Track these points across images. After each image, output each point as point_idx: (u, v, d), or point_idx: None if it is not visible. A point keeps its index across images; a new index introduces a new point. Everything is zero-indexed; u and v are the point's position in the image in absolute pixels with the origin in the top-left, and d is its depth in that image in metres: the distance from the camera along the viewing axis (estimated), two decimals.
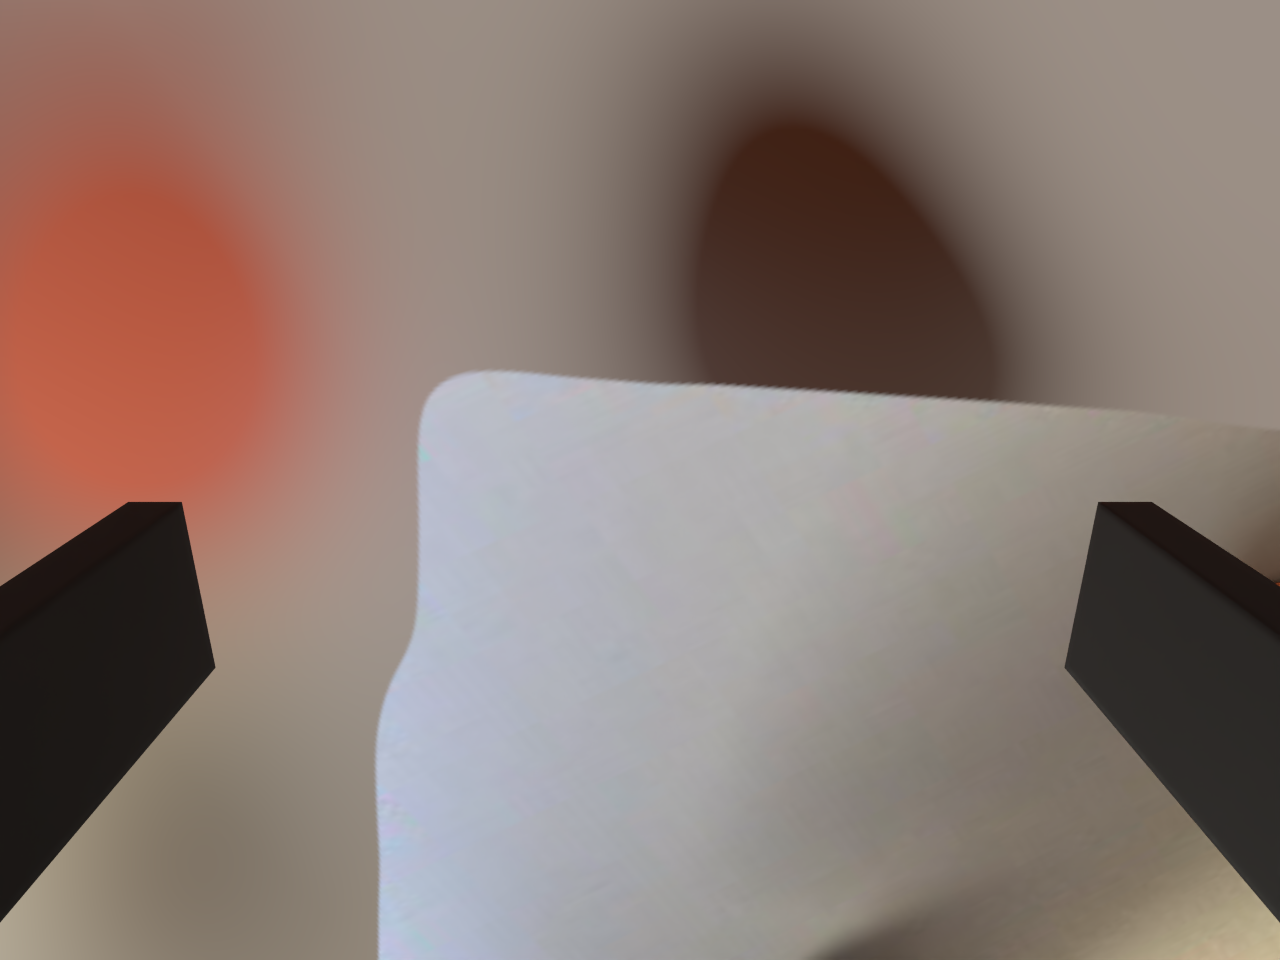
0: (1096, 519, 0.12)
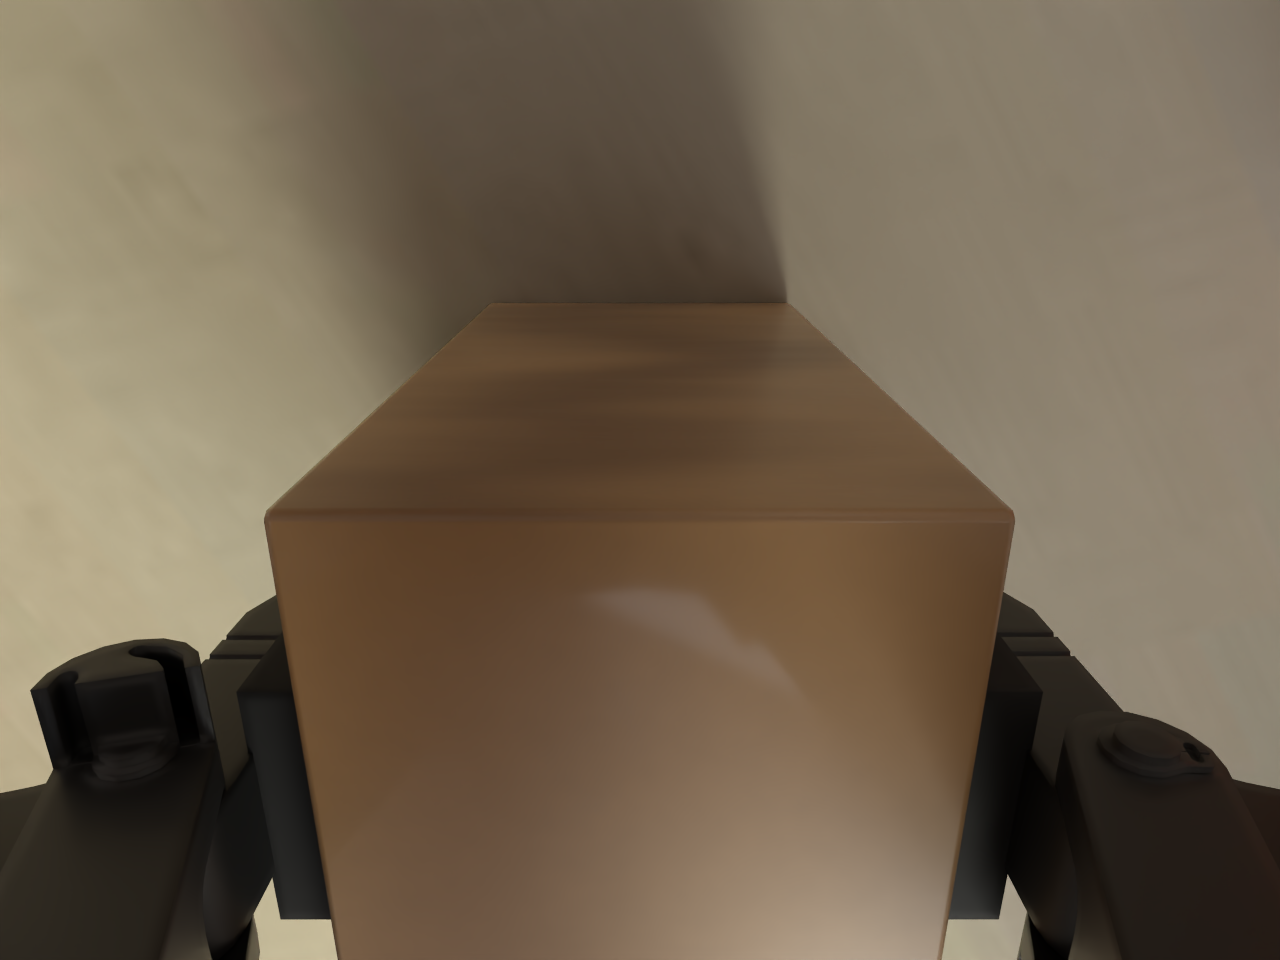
0: None
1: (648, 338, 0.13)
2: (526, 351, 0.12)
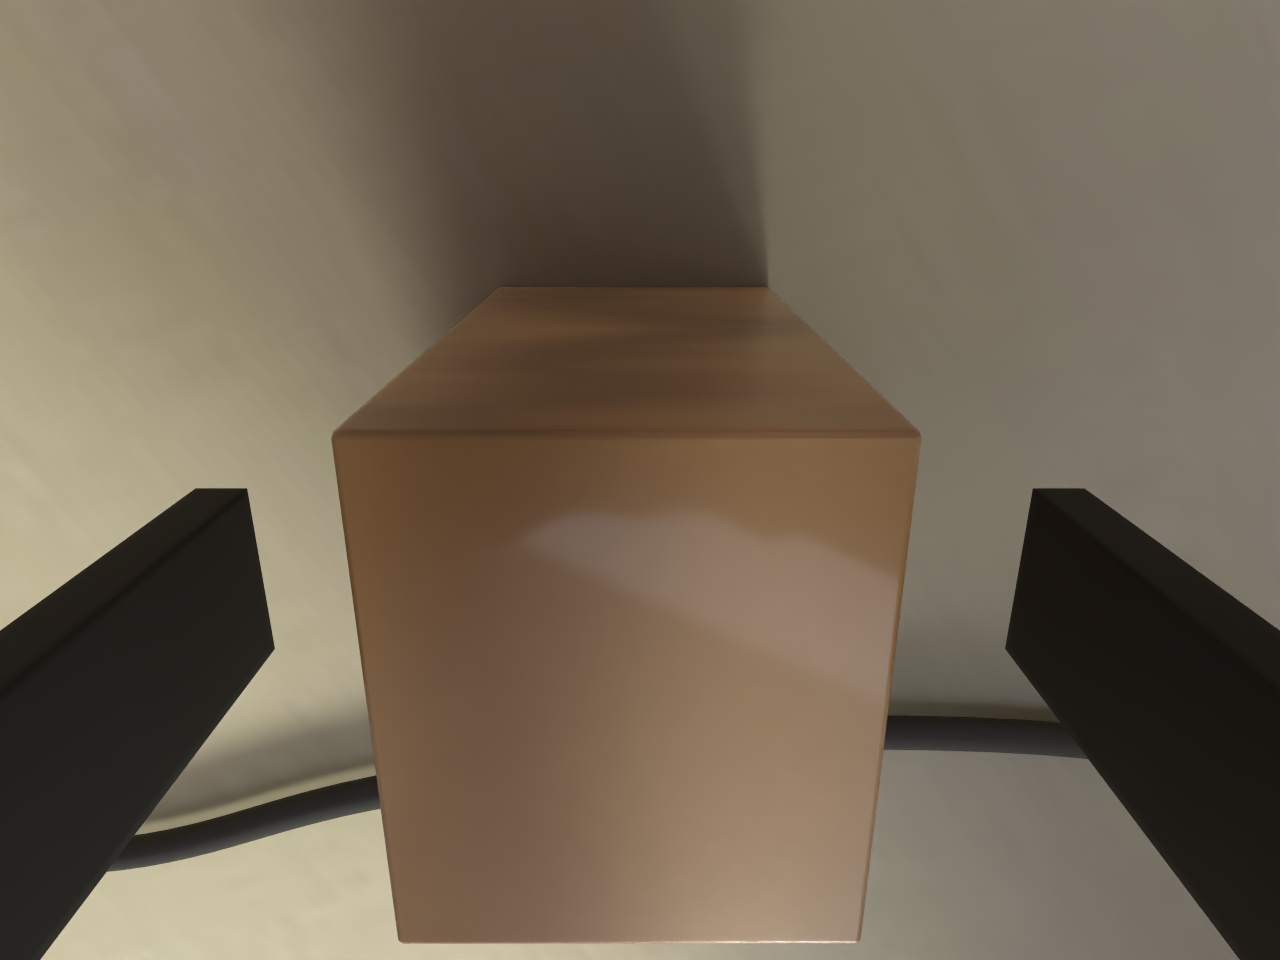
0: (1031, 505, 0.12)
1: (639, 314, 0.15)
2: (532, 324, 0.14)
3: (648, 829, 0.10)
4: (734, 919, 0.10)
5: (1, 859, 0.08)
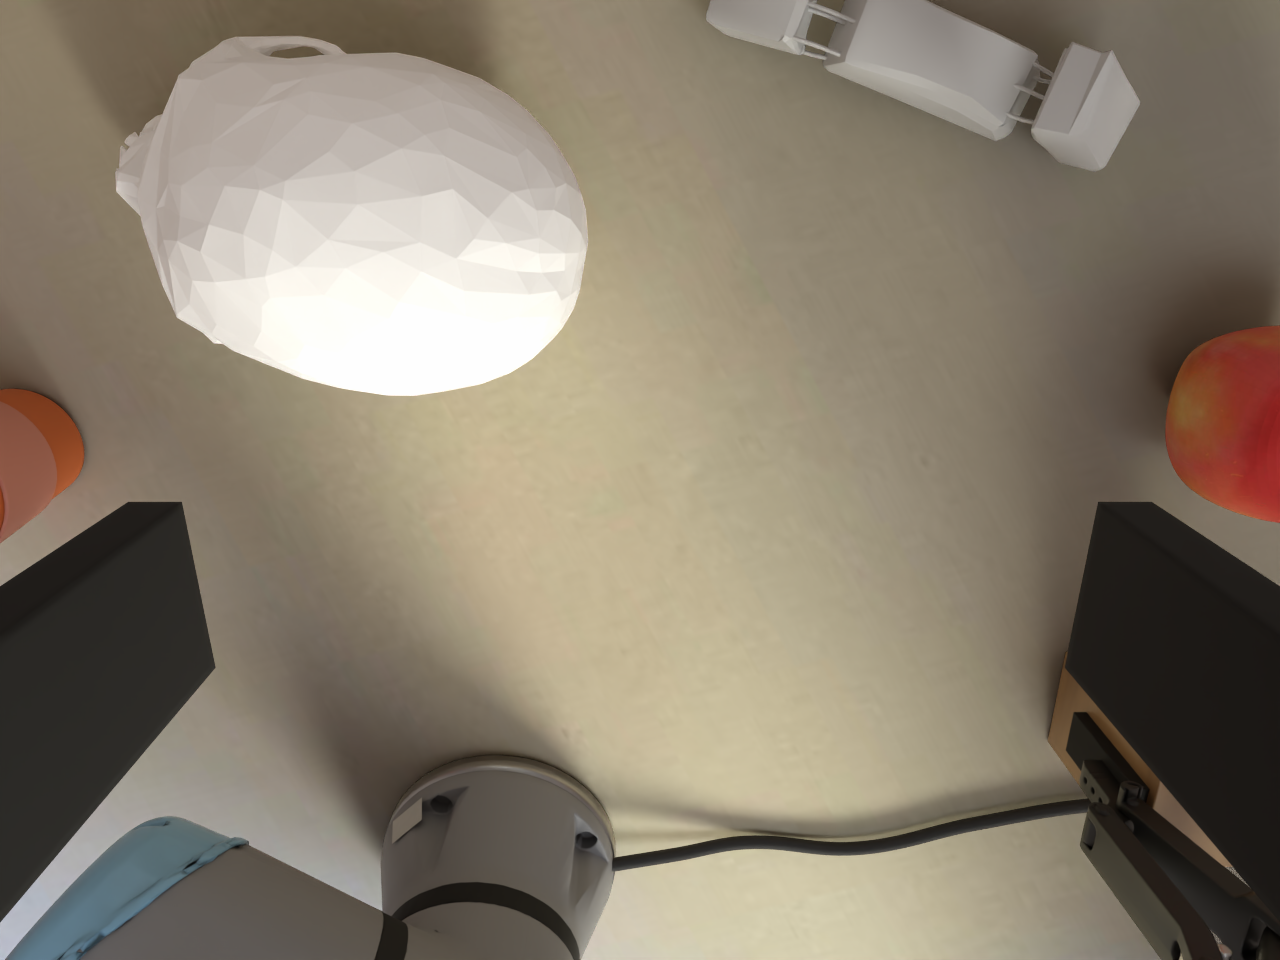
0: (1096, 519, 0.12)
1: None
2: None
3: (1204, 839, 0.44)
4: (1218, 860, 0.44)
5: None
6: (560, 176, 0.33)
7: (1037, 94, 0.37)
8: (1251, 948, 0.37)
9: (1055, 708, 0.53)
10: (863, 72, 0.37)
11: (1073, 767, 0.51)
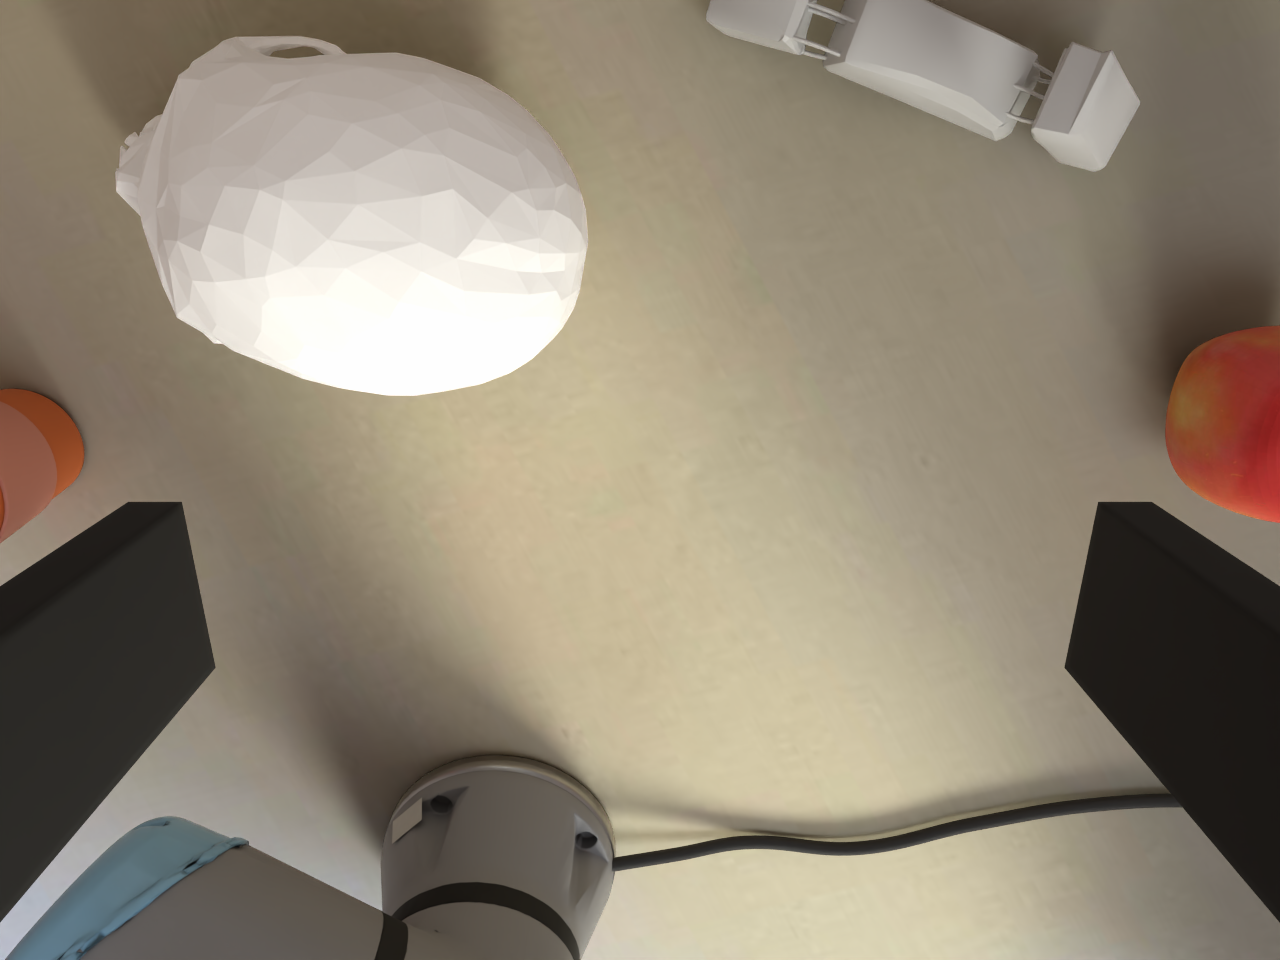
0: (1096, 519, 0.12)
1: None
2: None
3: None
4: None
5: None
6: (560, 176, 0.33)
7: (1037, 94, 0.37)
8: None
9: None
10: (863, 72, 0.37)
11: None
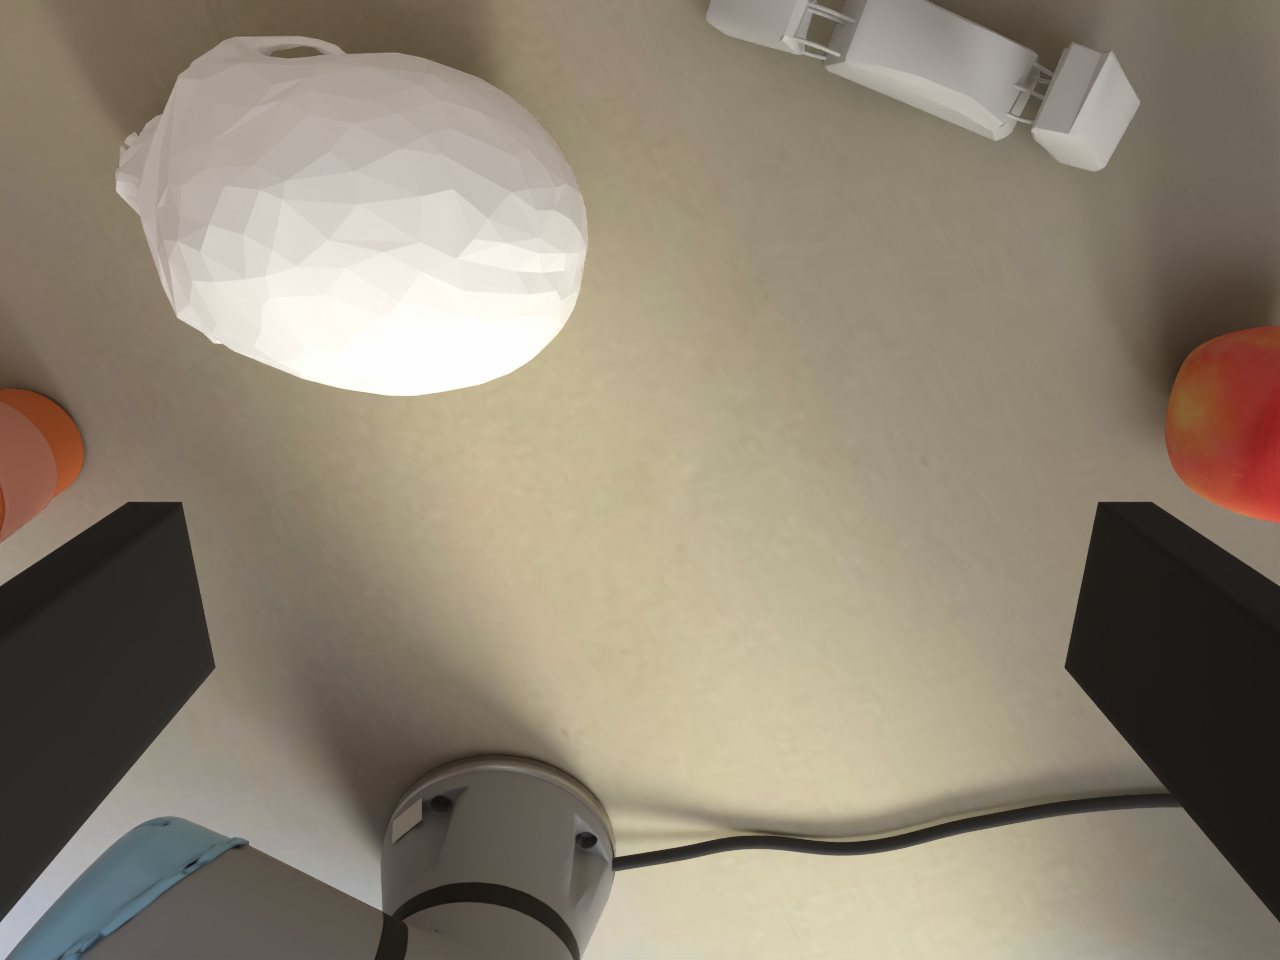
0: (1096, 519, 0.12)
1: None
2: None
3: None
4: None
5: None
6: (560, 176, 0.33)
7: (1037, 94, 0.37)
8: None
9: None
10: (863, 72, 0.37)
11: None
